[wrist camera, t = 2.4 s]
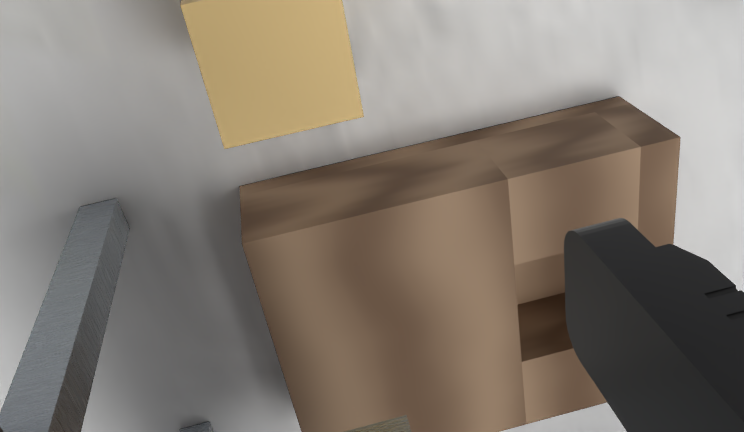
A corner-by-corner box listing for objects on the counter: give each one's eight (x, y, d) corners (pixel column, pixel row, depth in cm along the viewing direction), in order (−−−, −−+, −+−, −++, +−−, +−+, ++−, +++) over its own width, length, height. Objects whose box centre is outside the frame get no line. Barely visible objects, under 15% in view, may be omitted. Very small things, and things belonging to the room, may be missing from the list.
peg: (299, -75, 26) (336, -29, 17) (320, 29, 28) (363, 116, 19) (195, -53, 26) (180, 5, 17) (224, 51, 28) (224, 149, 19)
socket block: (619, 96, 32) (680, 137, 28) (615, 326, 39) (663, 386, 35) (239, 186, 31) (241, 243, 26) (306, 407, 38) (317, 480, 33)
